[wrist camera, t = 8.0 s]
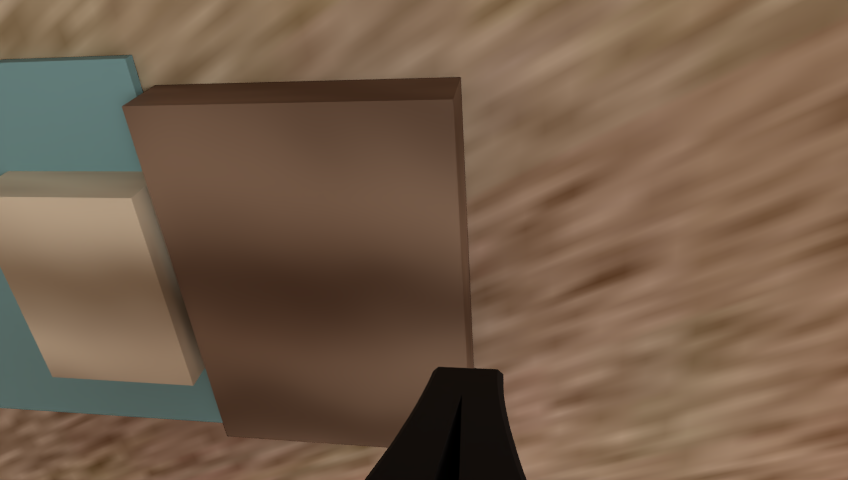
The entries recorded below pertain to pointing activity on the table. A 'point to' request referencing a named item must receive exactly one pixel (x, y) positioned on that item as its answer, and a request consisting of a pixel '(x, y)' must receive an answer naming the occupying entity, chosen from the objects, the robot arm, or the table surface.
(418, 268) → the board
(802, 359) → the table surface
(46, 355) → the block
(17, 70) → the teal mat
